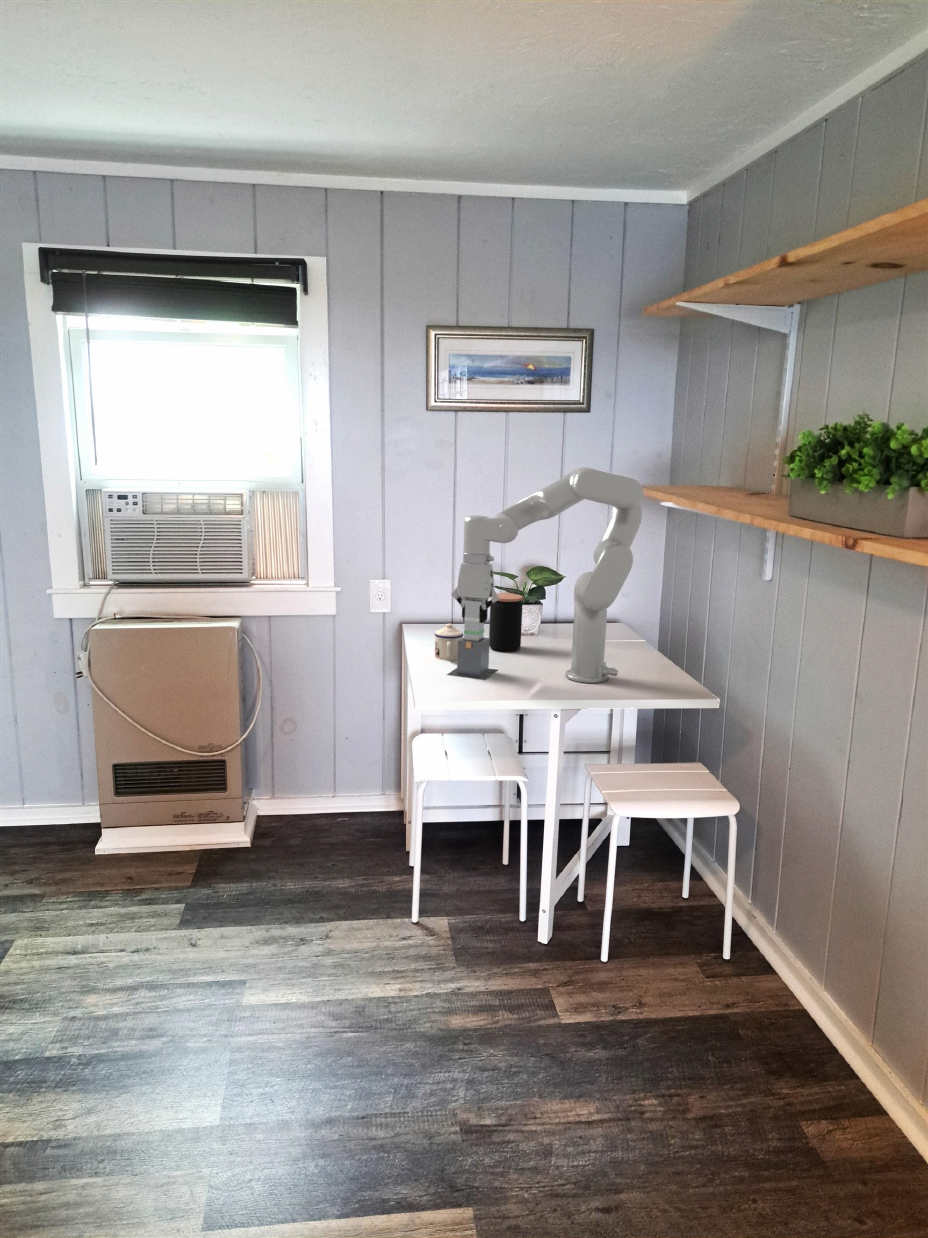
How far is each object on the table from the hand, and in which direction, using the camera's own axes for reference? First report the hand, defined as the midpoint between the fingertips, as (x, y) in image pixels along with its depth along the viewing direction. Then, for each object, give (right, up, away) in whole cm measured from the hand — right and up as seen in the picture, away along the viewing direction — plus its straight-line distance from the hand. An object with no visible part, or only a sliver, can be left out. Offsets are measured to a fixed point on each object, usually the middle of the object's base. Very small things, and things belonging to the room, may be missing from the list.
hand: (474, 620), depth 245 cm
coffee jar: (+11, -10, +37) cm, 40 cm away
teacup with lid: (-8, -13, +19) cm, 24 cm away
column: (0, -10, +2) cm, 11 cm away
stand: (-1, -16, +4) cm, 17 cm away
